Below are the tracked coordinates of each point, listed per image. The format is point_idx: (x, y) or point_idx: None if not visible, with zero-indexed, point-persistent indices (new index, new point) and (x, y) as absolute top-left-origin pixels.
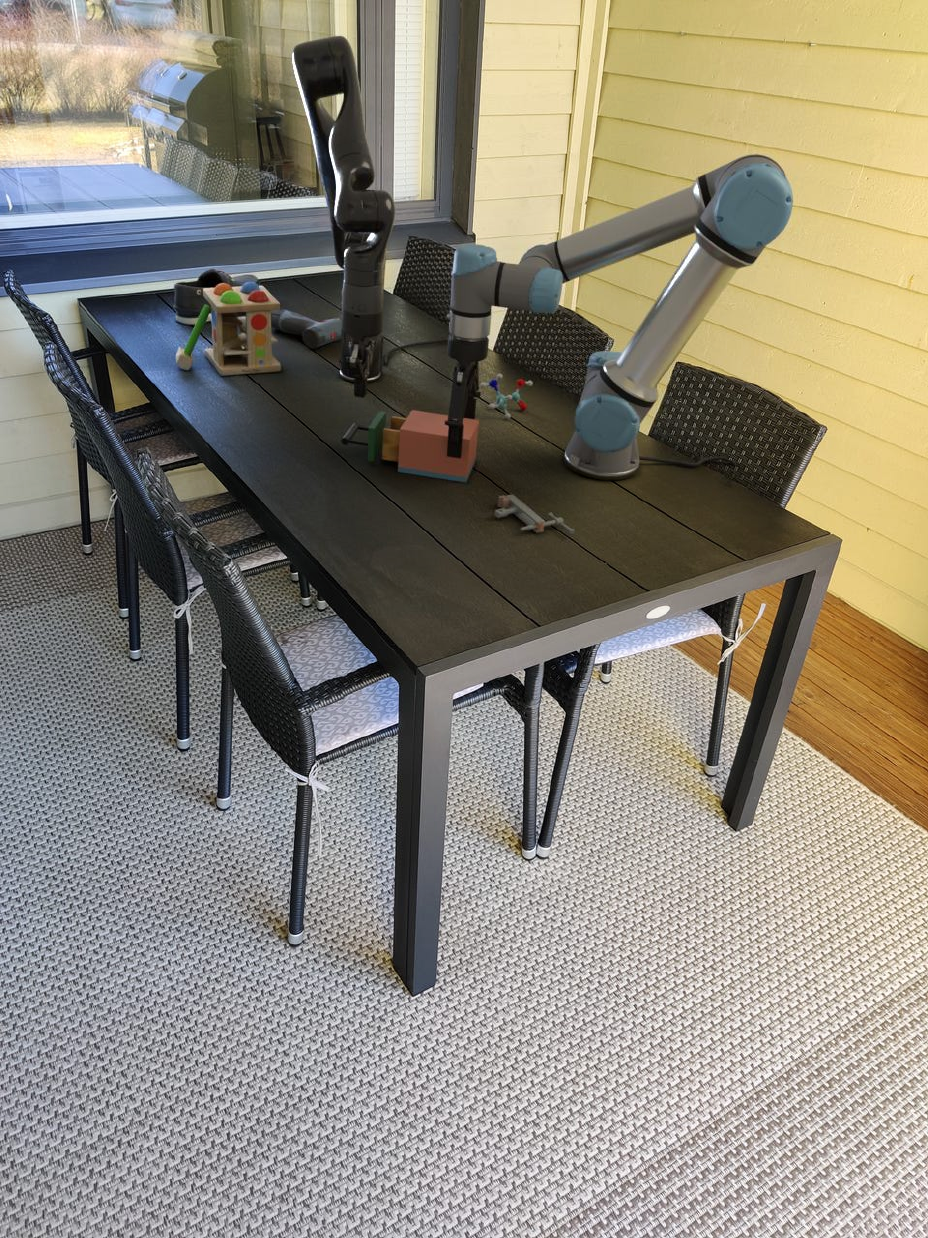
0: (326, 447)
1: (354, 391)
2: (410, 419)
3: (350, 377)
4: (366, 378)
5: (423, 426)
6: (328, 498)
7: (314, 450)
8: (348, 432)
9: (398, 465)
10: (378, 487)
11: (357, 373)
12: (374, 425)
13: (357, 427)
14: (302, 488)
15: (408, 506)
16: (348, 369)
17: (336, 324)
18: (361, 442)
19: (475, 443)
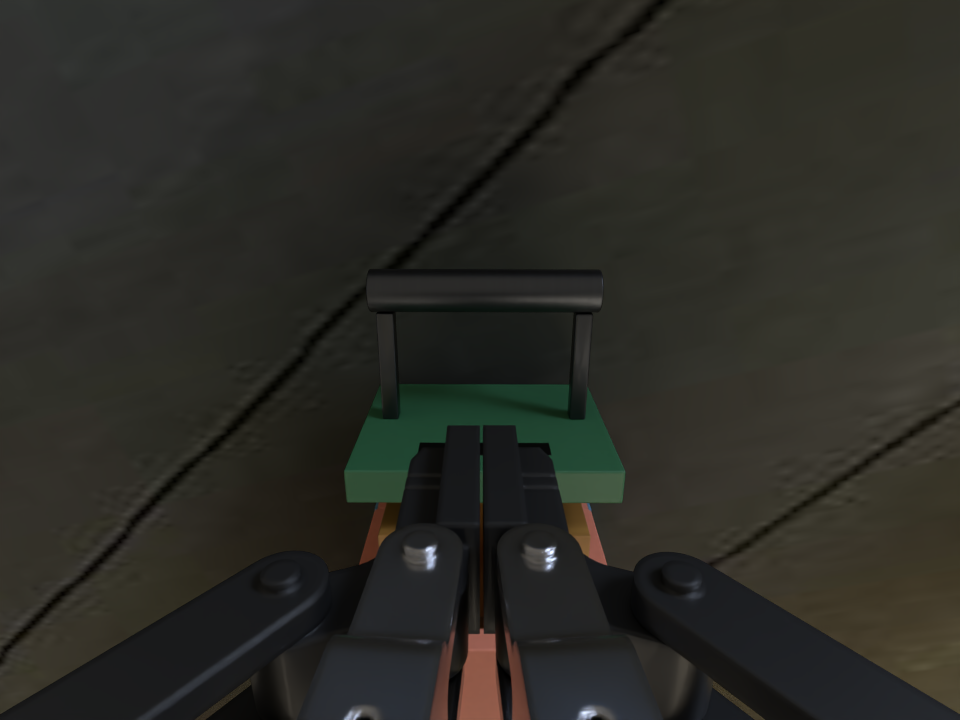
0: (502, 132)
1: (446, 444)
2: (489, 668)
3: (257, 562)
4: (484, 632)
5: None
6: (4, 306)
7: (442, 79)
8: (450, 293)
9: (374, 513)
10: (209, 461)
11: (259, 689)
12: (389, 492)
13: (563, 311)
14: (17, 164)
15: (125, 582)
16: (18, 709)
17: None
18: (381, 380)
19: None
